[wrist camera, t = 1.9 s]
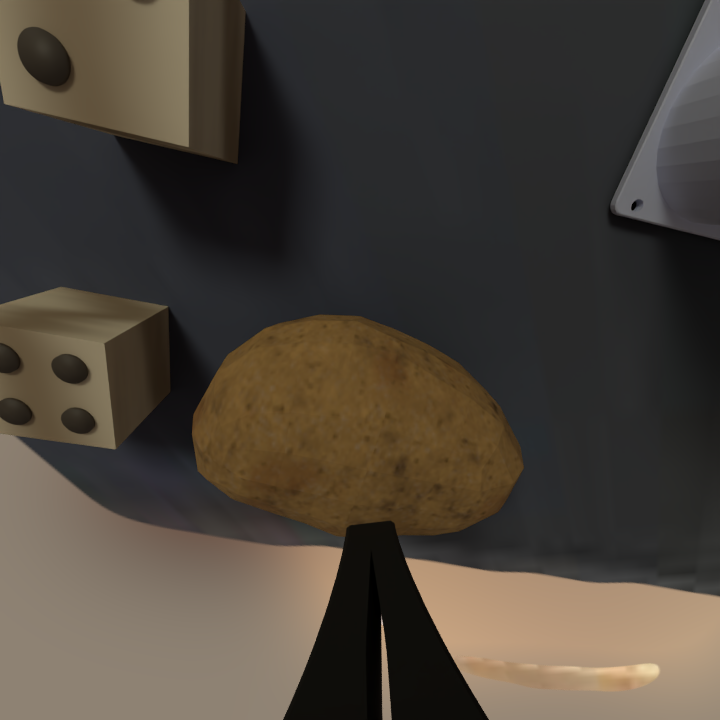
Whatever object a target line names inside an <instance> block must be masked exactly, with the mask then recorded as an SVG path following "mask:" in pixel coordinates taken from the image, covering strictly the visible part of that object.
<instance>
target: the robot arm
mask: <svg viewBox="0 0 720 720" xmlns="http://www.w3.org/2000/svg"><path fill="white" fill-rule="evenodd" d="M635 200H636V203H637V205H636V207H635V209H634V210H633V211H632V210H631V206H632V204H633V202H634V201H635ZM610 209H611V211H612V213H613V214H615V215H618V216H622V217H626V218H630V219H634V220H638V221H642V222H647V223H651V224H655V225H659V226H663V227H667V228H671V229H675V230H679V231H683V232H687V233H691V234H695V235H699V236H703V237H707V238H711V239H715V240H719V241H720V0H705V1H704V4H703V6H702V8H701V10H700V12H699V14H698V16H697V19H696V21H695V23H694V25H693V27H692V29H691V31H690V34H689V36H688V38H687V40H686V42H685V44H684V46H683V49H682V51H681V53H680V55H679V57H678V59H677V61H676V64H675V66H674V68H673V70H672V72H671V74H670V77H669V79H668V81H667V83H666V85H665V87H664V89H663V92H662V94H661V96H660V98H659V100H658V102H657V104H656V107H655V109H654V111H653V113H652V115H651V117H650V119H649V122H648V124H647V126H646V128H645V130H644V132H643V134H642V137H641V139H640V141H639V143H638V145H637V147H636V149H635V152H634V154H633V156H632V158H631V160H630V162H629V164H628V167H627V169H626V171H625V173H624V175H623V177H622V179H621V182H620V184H619V186H618V188H617V190H616V192H615V194H614V197H613V199H612V201H611V205H610ZM381 614H382V620H383V626H384V633H385V642H386V649H387V661H388V674H389V688H390V701H391V715H392V720H489V719H488V718H487V716H486V714H485V713H484V711H483V710H482V708H481V706H480V705H479V703H478V701H477V699H476V698H475V696H474V695H473V693H472V691H471V689H470V688H469V686H468V684H467V683H466V681H465V679H464V677H463V676H462V674H461V672H460V670H459V669H458V667H457V665H456V663H455V662H454V660H453V658H452V656H451V655H450V653H449V651H448V649H447V647H446V645H445V644H444V642H443V640H442V638H441V636H440V634H439V632H438V630H437V628H436V626H435V624H434V622H433V620H432V618H431V616H430V614H429V612H428V610H427V608H426V606H425V604H424V602H423V600H422V597H421V595H420V593H419V591H418V589H417V586H416V584H415V582H414V580H413V578H412V575H411V573H410V570H409V568H408V565H407V563H406V560H405V557H404V555H403V552H402V549H401V546H400V543H399V540H398V536H397V532H396V528H395V523H394V522H392V521H382V522H373V523H365V524H356V525H349V526H348V527H347V528H346V536H345V542H344V547H343V552H342V556H341V561H340V565H339V569H338V572H337V577H336V580H335V583H334V586H333V590H332V593H331V596H330V600H329V603H328V606H327V609H326V613H325V616H324V618H323V621H322V624H321V627H320V630H319V632H318V636H317V638H316V641H315V644H314V647H313V649H312V652H311V655H310V657H309V660H308V662H307V665H306V667H305V670H304V672H303V675H302V677H301V680H300V682H299V684H298V687H297V689H296V692H295V694H294V697H293V699H292V701H291V704H290V706H289V708H288V710H287V712H286V714H285V717H284V719H283V720H382V663H381V662H382V661H381V660H382V658H381Z"/></svg>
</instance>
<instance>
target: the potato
mask: <svg viewBox="0 0 720 720" xmlns="http://www.w3.org/2000/svg"><path fill="white" fill-rule="evenodd" d="M192 437H193V443H194V450H195V456H196V462H197V468H198V471H199V472H200V473H201V474H202V475H203V476H204V477H205V478H206V479H207V480H208V481H210V482H211V483H212V484H213V485H215V486H216V487H217V488H219V489H220V490H221V491H223V492H224V493H225V494H226V495H228V496H229V497H230V498H232V499H234V500H237V501H240V502H243V503H245V504H248V505H251V506H254V507H257V508H260V509H263V510H266V511H269V512H272V513H275V514H278V515H281V516H284V517H287V518H290V519H294V520H297V521H300V522H303V523H306V524H308V525H311V526H313V527H316V528H318V529H321V530H323V531H326V532H328V533H331V534H333V535H335V536H343V537H345V536H346V528H347V527H348V526H349V525H356V524H365V523H373V522H382V521H392V522H394V523H395V528H396V532H397V536H398V535H438V534H444V533H450V532H457V531H461V530H463V529H465V528H467V527H469V526H471V525H473V524H475V523H477V522H479V521H481V520H483V519H485V518H487V517H489V516H491V515H493V514H495V513H497V512H499V510H500V509H501V507H502V506H503V504H504V503H505V502H506V500H507V498H508V496H509V494H510V493H511V491H512V489H513V487H514V485H515V483H516V482H517V480H518V478H519V476H520V474H521V472H522V470H523V469H524V466H523V460H522V454H521V449H520V445H519V443H518V441H517V440H516V438H515V436H514V434H513V432H512V430H511V428H510V426H509V424H508V422H507V420H506V418H505V416H504V414H503V412H502V410H501V408H500V406H499V405H498V404H497V402H496V401H495V400H494V399H493V398H492V397H491V396H490V394H489V393H488V392H487V391H486V390H485V389H484V388H483V387H482V386H481V385H480V384H479V383H478V382H477V381H476V380H475V379H474V378H473V377H472V376H471V375H470V374H469V373H468V372H467V371H466V370H465V369H464V368H463V367H462V366H461V365H460V364H459V363H458V362H456V361H455V360H453V359H451V358H450V357H448V356H446V355H445V354H443V353H441V352H440V351H438V350H436V349H435V348H433V347H431V346H430V345H428V344H426V343H423V342H421V341H419V340H417V339H415V338H413V337H410V336H408V335H406V334H404V333H402V332H400V331H398V330H395V329H393V328H390V327H387V326H385V325H382V324H379V323H377V322H374V321H371V320H369V319H366V318H363V317H361V316H342V315H316V316H311V317H306V318H302V319H297V320H293V321H288V322H283V323H279V324H276V325H273V326H270V327H267V328H265V329H263V330H262V331H261V332H259V333H258V334H256V335H255V336H254V337H252V338H251V339H249V340H248V341H246V342H245V343H244V344H242V345H241V346H239V347H238V348H237V349H235V350H234V351H232V352H231V353H230V354H228V355H227V357H226V358H225V360H224V361H223V363H222V365H221V366H220V368H219V369H218V371H217V373H216V374H215V376H214V378H213V380H212V382H211V383H210V385H209V387H208V389H207V391H206V392H205V394H204V396H203V398H202V400H201V402H200V403H199V405H198V407H197V409H196V411H195V412H194V414H193V427H192Z"/></svg>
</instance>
